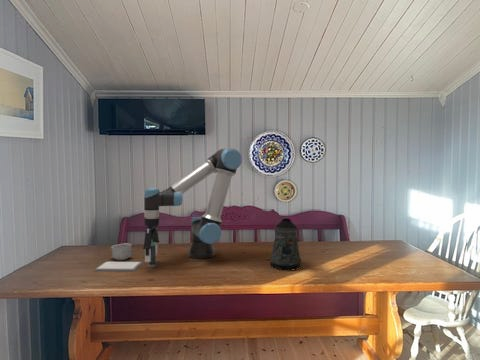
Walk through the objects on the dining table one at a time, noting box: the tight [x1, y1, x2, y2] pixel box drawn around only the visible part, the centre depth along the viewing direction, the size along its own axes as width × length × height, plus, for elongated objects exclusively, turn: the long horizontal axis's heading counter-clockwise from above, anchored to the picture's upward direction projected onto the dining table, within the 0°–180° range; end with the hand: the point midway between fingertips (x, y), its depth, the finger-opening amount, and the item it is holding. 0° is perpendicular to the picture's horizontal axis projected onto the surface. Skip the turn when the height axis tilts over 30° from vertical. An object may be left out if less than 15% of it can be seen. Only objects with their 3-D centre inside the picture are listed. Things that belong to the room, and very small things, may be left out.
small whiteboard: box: [94, 261, 143, 272], centre depth 183 cm, size 20×14×1 cm
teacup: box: [110, 242, 132, 261], centre depth 200 cm, size 14×11×8 cm
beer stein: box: [269, 218, 302, 271], centre depth 186 cm, size 16×19×25 cm
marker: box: [148, 241, 157, 269], centre depth 184 cm, size 4×4×13 cm
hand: (151, 258), depth 184 cm, fingers open, 13 cm apart
